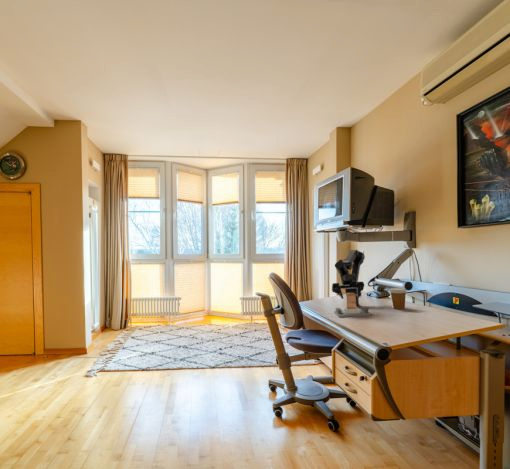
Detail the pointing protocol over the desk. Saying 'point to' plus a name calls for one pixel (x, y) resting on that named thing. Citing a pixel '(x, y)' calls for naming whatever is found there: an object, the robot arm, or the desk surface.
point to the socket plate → (352, 312)
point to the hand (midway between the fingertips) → (350, 298)
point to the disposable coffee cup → (398, 297)
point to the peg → (351, 300)
